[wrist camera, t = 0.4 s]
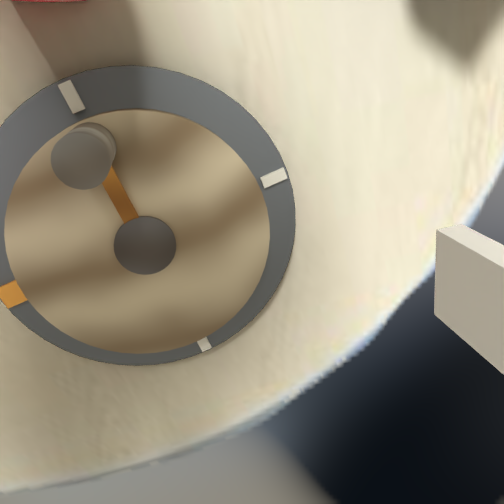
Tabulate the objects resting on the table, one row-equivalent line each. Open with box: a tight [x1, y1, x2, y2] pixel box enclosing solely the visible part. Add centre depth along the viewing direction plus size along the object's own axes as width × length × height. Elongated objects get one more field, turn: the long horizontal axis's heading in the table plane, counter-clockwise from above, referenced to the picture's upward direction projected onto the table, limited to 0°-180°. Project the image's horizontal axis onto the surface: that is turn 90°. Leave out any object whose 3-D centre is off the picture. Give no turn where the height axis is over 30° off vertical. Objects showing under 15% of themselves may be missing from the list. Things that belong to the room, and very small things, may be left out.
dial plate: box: [0, 65, 295, 366], centre depth 33 cm, size 22×22×2 cm
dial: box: [4, 108, 270, 354], centre depth 29 cm, size 17×17×7 cm
